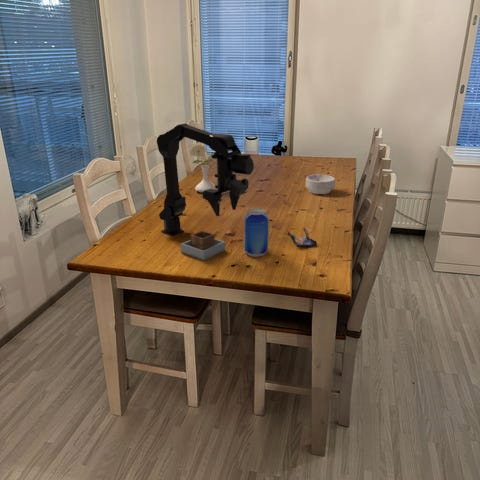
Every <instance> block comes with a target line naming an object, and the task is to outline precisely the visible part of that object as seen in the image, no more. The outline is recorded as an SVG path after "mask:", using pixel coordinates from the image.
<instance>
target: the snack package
mask: <svg viewBox="0 0 480 480" xmlns="http://www.w3.org/2000/svg"><path fill="white" fill-rule="evenodd" d="M301 229H303V232H304V233H305V236H304V237H300V236H297V235H295V234H292V233H291V232H290V231H289V230H288V229H286V231H287V233H288V236H289V237H290V239H291V241H293V243H294V244H295V245H296V246H297V248H298V247H301V246H305V247H306V248H311V247H314V246H317V244H318V243H317V241H316V240H314V239H312V238H310V233H309V232H308V230H307V228H306V227H304V228H301ZM297 239H298V240H300V242H301V243H300V242H298V240H297Z"/></svg>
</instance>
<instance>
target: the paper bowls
mask: <svg viewBox="0 0 480 480" xmlns="http://www.w3.org/2000/svg"><path fill="white" fill-rule="evenodd" d="M335 186H336V178H335V177H334V176H331V175H328V174H311V175H307V176H306V178H305V188H306V189H308V190H309V192H310V193H311V194H314V195H318V194H323V195H327V194H330V192H331V190H334V189H335V188H336V187H335Z"/></svg>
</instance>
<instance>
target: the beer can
mask: <svg viewBox="0 0 480 480" xmlns="http://www.w3.org/2000/svg"><path fill="white" fill-rule="evenodd" d="M246 212H247V213H246V214H245V215H244V252H246V254H247V255H248V256H250V257H253V258H255V257H256V258H260V257H264V256H265V255H266V254H267V252H268V251H269V216H268V214H267V213H266V212H267V211H266V209H264V208H260V207H259V208H255V207H254V208H250V209H248V210H246Z"/></svg>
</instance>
